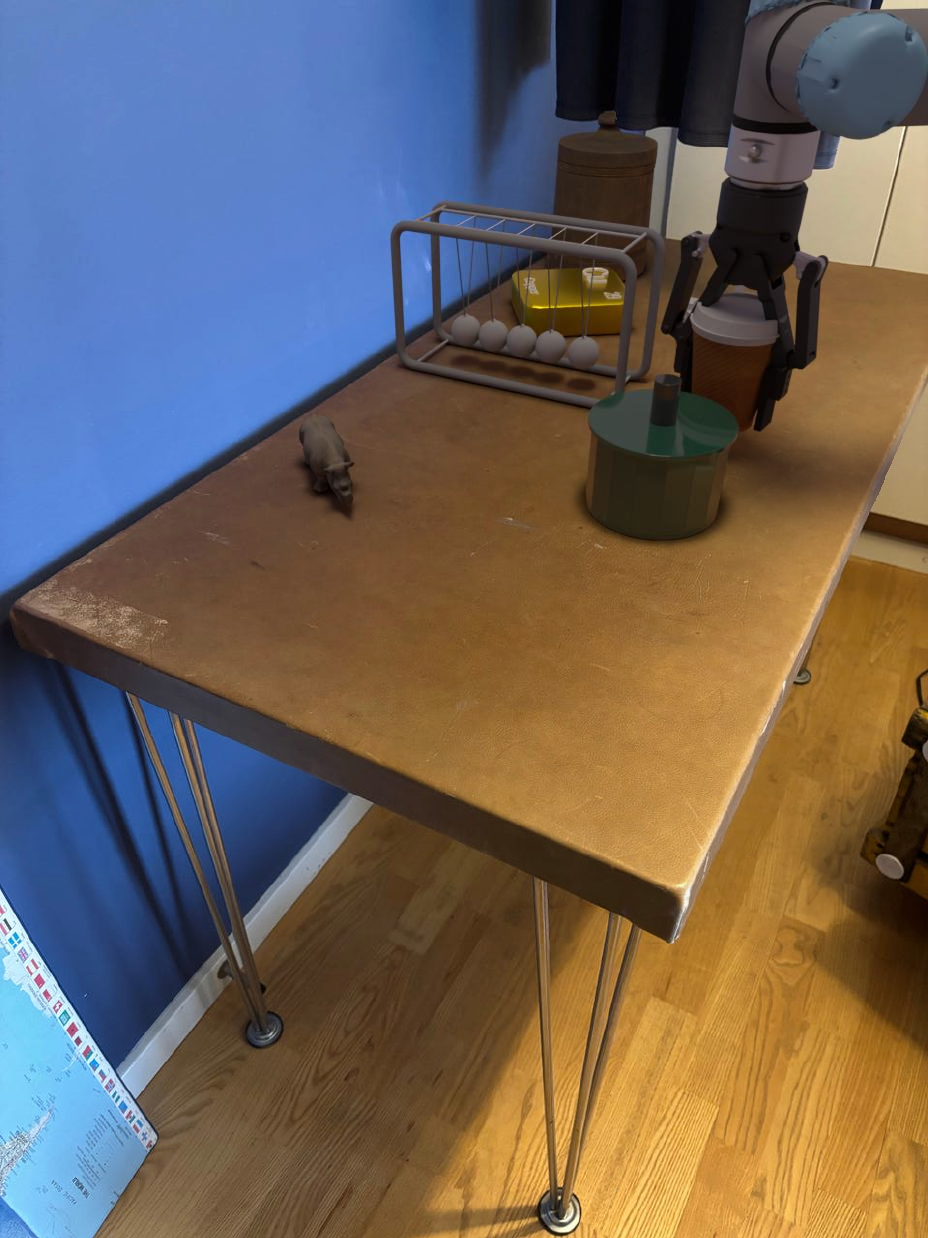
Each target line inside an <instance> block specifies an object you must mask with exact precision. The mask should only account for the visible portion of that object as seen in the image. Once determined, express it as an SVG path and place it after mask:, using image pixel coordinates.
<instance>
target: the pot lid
mask: <svg viewBox="0 0 928 1238" xmlns="http://www.w3.org/2000/svg"><path fill="white" fill-rule="evenodd" d="M653 381H654V383H653V388H639V389H631V390H625V391H624V392H620V393H616V394H613V395H611V394H610V395H608V396H606V397H604V398H602V399H600V401H599V402H597V403H596V404H595V405H594V406H593V407H592V408H590V410H589V413H588V416H587V425H588V428H589V430H590V433H591V432H592V434H593V435H594V436H595V437H596V438H597V439H598V440H599V441H600V442H602V443H603V444H605V445H606V446H608V447H610V448H612V449H614V450H616V451H619V452H622V453H624V454H627V455H631V456H634V457H639V458H643V459H650V460H658V461H690V460H697V459H703V458H707V457H711V456H714V455H716V454H719V453H721V452H723V451H725V450H726V449H728V448H729V447H730V448H731V447H732V445H733V444H735V442H736V440H737V438H738V434H739V433H738V430H739V427H738V423H737V420H736V418H735V417H734V416H733V414H732V413H731V412H730V411H728V410H727V409H726V408H725V407H723V406H721V405H720V404H718V403H716V402H714V401H712V400H710V399H707V398H705V397H701V396H698V395H695V394H691V393H687V392H682V391H681V385H682V379H681V378H680V376H678V375H676V374H671V373H663V374H657V375H656V376H655V378H654V380H653Z"/></svg>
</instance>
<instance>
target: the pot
mask: <svg viewBox="0 0 928 1238" xmlns="http://www.w3.org/2000/svg"><path fill="white" fill-rule="evenodd" d="M730 448H731V446H730V447H729V448H728V449H726V450H725V451H723V452H721V453H719V454H716V455H714V456H711V457H707V458H703V459H697V460H690V461H658V460H650V459H643V458H639V457H634V456H631V455H627V454H624V453H622V452H619V451H616V450H614V449H612V448H610V447H608V446H606V445H605V444H603V443H602V442H600V441H599V440H598V439H597V438H596V437H595V436H594V435H593V434H592V432H591V431H590V443H589V454H588V455H589V456H588V464H587V465H588V467H587V477H586V487H585V488H586V489H585V499H586V507H587V509H588V511H589V513H590V515H592V517H593V518H594V519H595V520H596V521H597V522H598V523H599V524H601V525H603V526H604V527H606V528H607V529H609V530H612V531H614V532H616V533H620V534H622V535H624V536H628V537H632V538H637V539H642V540H651V541H669V540H678V539H685V538H688V537H691V536H692V537H693V536H694V535H697V534H699V533H701V532H703V531H705V530H707V528H708V527H710V526H711V525H712V523H713V522H714V521H715V519H716V516H717V514H718V510H719V505H720V501H721V495H722V490H723V485H724V479H725V474H726V470H727V463H728V459H729V453H730Z"/></svg>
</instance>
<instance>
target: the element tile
mask: <svg viewBox="0 0 928 1238" xmlns="http://www.w3.org/2000/svg"><path fill="white" fill-rule="evenodd" d="M592 269H593V267H590V268H582V288H583V324H584V336H585V330H586V321H587V313H588V304H589V295H590V286H591V277H592ZM559 271H560V269H551V268H549V272H550V310H551V330H552V327H553V319H554V311H555V303H556V295H557V287H558V279H559ZM528 274H529V269H524V270H523V269H522V270H519V284H520V303H521V322H522V324H523V320H524V310H525V301H526V292H527V283H528ZM624 294H625V283H624V281H621V279H620V278H619V277H618V275H617V274H616V272H615V271H614V270H612V269H611V268H609V267H594V272H593V281H592V290H591V298H590V307H589V316H588V325H587V333H586V336H599V335H620V333H621V323H622V313H623V303H624ZM510 300H511V301H510V302H511V305H512V308H513V310H514V313H515V315H516V318H517V320H518V323H519V324H520V309H519V291H518V272H517V270H516V271H514V273H513V274H511V299H510ZM524 325H525V326H528V327H530V328H531V329H533V331H534V332H535V334H536V336H537V338H538V337H539V336H540V335H541V334H542V333H544V332H546V331H550V323H549V287H548V268H545V269H530V277H529V286H528V295H527V304H526V313H525V323H524ZM554 331H556V332H558V333H560V334H561V335H562V336H563V337H578V336H579V337H582V303H581V268H567V269H561V274H560V282H559V290H558V298H557V306H556V314H555V322H554Z"/></svg>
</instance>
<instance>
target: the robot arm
mask: <svg viewBox="0 0 928 1238" xmlns="http://www.w3.org/2000/svg"><path fill="white" fill-rule="evenodd" d="M744 29H745V31H744V38H743V44H742V51H741V57H740V65H739V71H738V78H737V85H736V90H735V91H736V92H735V97H734V106H733V111H732V118H731V124H730V131H729V132H730V133H729V137H728V144H727V148H726V154H725V162H724V167H723V170H724V173H725V174H726V175H727V177H726V178H725V179H724V180H723V181H722V182H721V185H720V192H719V198H718V204H717V210H716V216H715V217H716V219H715V220H716V223H715V227H714V229H713V230H712V232H711V233H703V232H702V231H701V230H696V231H693V232H692V233H689V234H687V235H686V236H684V237H682V238H681V240H680V263H679V266H678V269H677V273H676V276H675V278H674V283H673V286H672V289H671V292H670V296H669V298H668V301H667V305H666V308H665V312H664V315H663V318H662V322H661V325H660V332H661V333H662V334H664V335H665V336H667V335H669V336H670V337H672V338H673V339H674V340H675V343H676V345H675V346H676V347H675V354H674V359H673V360H674V361H673V371H674V373H677V374H679V377H680V378H681V379H682V385H681V391H682V392H687V393H691V394H692V369H693V367H692V364H693V333H694V332H693V328H692V323H691V321H690V316H691V313H694V311H695V308H696V306H697V303H698V302H702V303H701V306H704V307H709V306H711V305H712V304H714V303H716V302H717V301H719V299H720V298H721V296H722V295H723V293H724V292H726V290H727V288H728V287H729V286H733V287H734V286H736V285H743V286H745V287H747V288H746V289H748V290H752V291H756V294H758V299H759V301H760V302H761V303H762V306H763V311H764V316H765V321H768V320H777V321H778V332H777V334H779V335H780V336H779V337H777V338H776V341H775V343H773V345H772V348H771V351H772V355H773V360H774V363H773V364H772V365H770V366H769V367H768V368H767V369H766V370H765V375H764V380H763V385H762V389H761V394H760V399H759V404H758V408H757V411H756V414H755V417H754V422H753V428H752V430H753V431H754V432H758V433H761V432H762V431H763V430H765V428H767V427H768V426H769V425H770V424H771V423H772V420H773V416H774V412H775V406H776V403H777V402H780V401H781V400H782V399H784V397H786V395H787V393H788V392H789V387H790V382H791V378H792V374H793V370H796V369H797V370H799V371H802V370H804V369H806V367H809V366H810V364H811V363H812V362H814V361H815V360H816V359H817V354H818V352H817V351H818V337H819V335H818V334H819V321H820V319H819V318H820V304H821V303H820V301H821V285H822V280H823V278H824V276H825V274H826V270H827V269H828V266H829V263H830V261H829V258H828V256H826V255H824V254H820V255H818V256H814V255H811V254H809V253H808V252H807V253H806V252H804V251H801V245H800V243H799V233H800V230H801V226H802V222H803V217H804V213H805V208H806V207H805V206H806V203H807V197H808V195H809V187H808V186H807V185H808V184H807V183H806V182H805V181H806V180H809V178H811V177H812V176H813V170H814V167H815V160H816V156H817V152H818V146H819V141H820V137H821V132H824V133H826V134H827V135H828V136H831V137H832V136H833V137H836V138H840V137H843V138H845V139H849V140H855V141H856V140H857V141H859V140H860V141H861V140H862V141H863V140H869V139H872V138H877V137H879V136H880V135H882V134H885V133H887V131H889V130H891V129H893V128H897V127H898V128H899V127H903V128H904V127H928V7H927V8H925V7H923V8H882V9H868V8H867V9H865V8H854V7H851V0H750V4H749V8H748V13H747V15H746V17H745V20H744ZM709 251H710V252H711V255H712V258H713V259H714V261H715V264H716V268H715V270H714V271H713V273H712V275H711V276H710V278H709V279H708V281H707V283H706V287H705V289H704V290H703V291H702V293H701V295H700V297H699V298H698V301H697V303H696V305H695V306H694V308H693V309H692V311H691V313H690V314H689V316H688V317H687V319H686V321H685V322H684V323H683V320H684V317H685V314H686V311H687V308H688V305H689V302H690V299H691V297H692V296H693V292H694V289H695V286H696V282H697V280H698V277H699V274H700V270H701V267H702V265H703V261H704V257H706V256H707V255H708V252H709ZM792 265H793V266H794V267H795V270H796V271H795V277H796V280H798V281H799V282H798V286H797V293H796V311H795V332H794V333H795V335H794V334H793V329H792V325H791V324H792V323H791V320H790V317H789V314H790V313H789V310H788V303H787V298H786V290H787V285H786V280H785V274H784V273H785V272H786V271H788V269H789V268H791V267H792ZM785 315H787V319H786V321H785V322H784V323H781V322H780V321H779V320H780V319H781V318H782V317H784V316H785ZM787 330H788V331H787ZM785 331H787V332H785ZM784 332H785V333H784Z"/></svg>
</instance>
